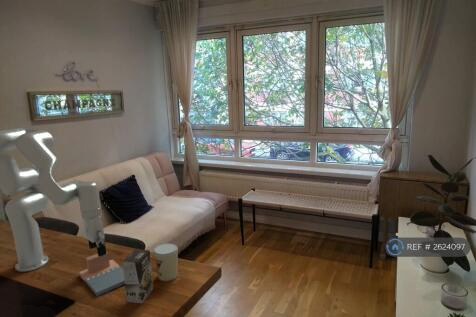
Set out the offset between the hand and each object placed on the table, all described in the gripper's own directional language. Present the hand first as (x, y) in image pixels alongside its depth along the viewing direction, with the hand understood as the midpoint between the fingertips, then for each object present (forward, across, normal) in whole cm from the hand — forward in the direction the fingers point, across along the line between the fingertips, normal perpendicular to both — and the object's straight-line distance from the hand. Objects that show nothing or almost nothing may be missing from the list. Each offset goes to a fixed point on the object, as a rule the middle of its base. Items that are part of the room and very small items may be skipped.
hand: (98, 251), depth 136 cm
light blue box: (+10, +10, -1) cm, 14 cm away
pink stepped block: (+10, 0, -1) cm, 10 cm away
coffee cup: (+11, +23, +18) cm, 31 cm away
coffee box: (+10, +27, +4) cm, 29 cm away
